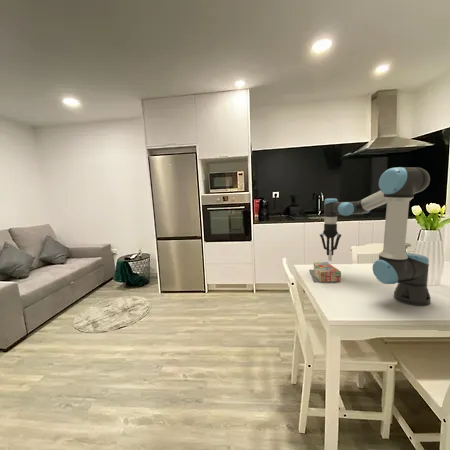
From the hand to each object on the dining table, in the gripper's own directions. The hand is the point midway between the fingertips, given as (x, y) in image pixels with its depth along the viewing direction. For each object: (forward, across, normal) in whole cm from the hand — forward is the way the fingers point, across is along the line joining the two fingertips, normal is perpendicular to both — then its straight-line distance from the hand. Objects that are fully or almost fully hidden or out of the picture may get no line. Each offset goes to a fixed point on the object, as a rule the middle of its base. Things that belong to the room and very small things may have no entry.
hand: (329, 260), depth 172 cm
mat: (+11, +5, 0) cm, 12 cm away
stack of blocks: (+7, -2, 0) cm, 8 cm away
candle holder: (+11, -45, -7) cm, 47 cm away
